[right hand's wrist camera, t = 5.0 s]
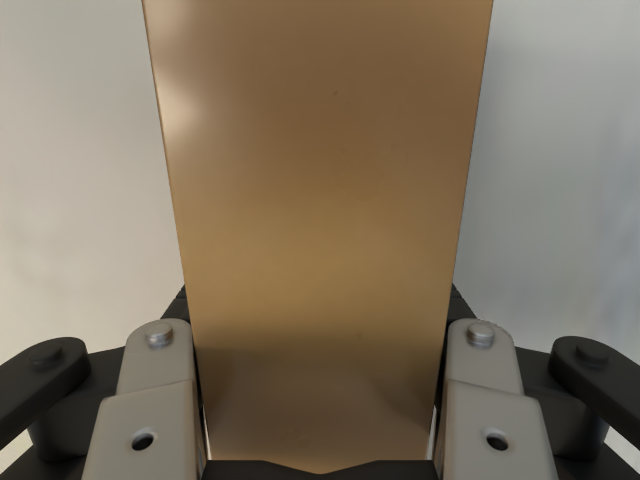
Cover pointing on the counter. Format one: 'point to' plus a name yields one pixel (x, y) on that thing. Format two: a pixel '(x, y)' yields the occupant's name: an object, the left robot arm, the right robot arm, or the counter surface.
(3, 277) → the counter surface
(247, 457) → the post
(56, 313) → the counter surface
